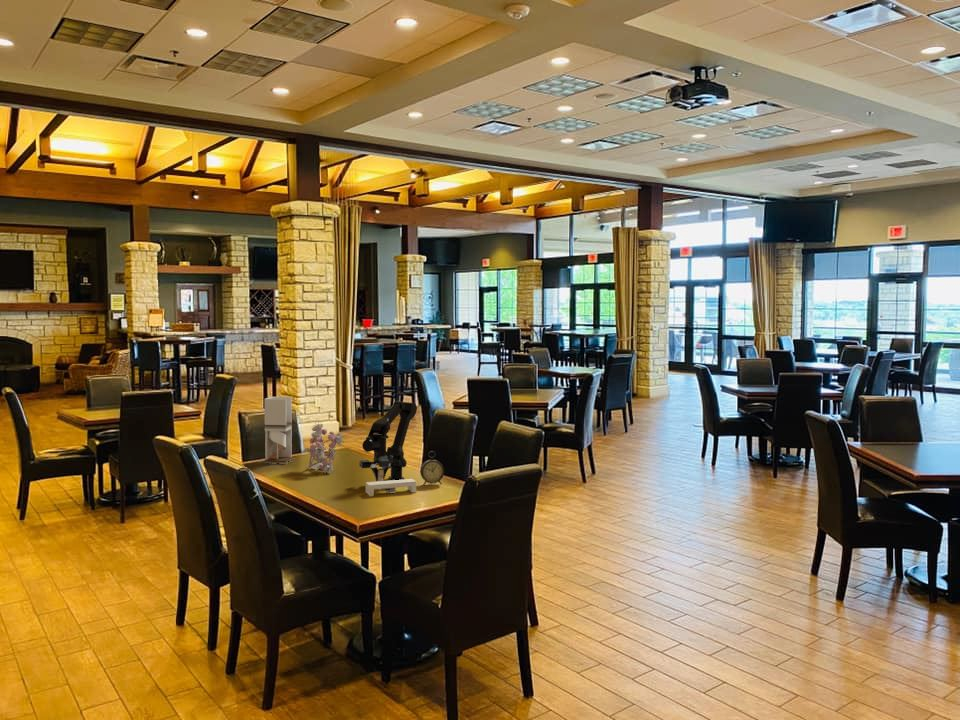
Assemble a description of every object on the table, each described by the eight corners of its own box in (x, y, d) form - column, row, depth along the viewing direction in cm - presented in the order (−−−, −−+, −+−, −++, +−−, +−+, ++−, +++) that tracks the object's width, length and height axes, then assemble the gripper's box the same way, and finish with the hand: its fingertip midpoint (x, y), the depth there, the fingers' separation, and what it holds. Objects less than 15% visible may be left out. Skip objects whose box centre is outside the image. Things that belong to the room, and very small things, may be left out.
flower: (287, 472, 371) (308, 428, 367) (296, 458, 393) (317, 417, 389) (324, 489, 373) (345, 446, 369) (331, 475, 395) (351, 434, 391)
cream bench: (365, 493, 337) (365, 482, 337) (411, 489, 346) (412, 478, 345) (369, 496, 331) (369, 485, 331) (416, 492, 340) (416, 481, 340)
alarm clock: (421, 486, 352) (421, 452, 351) (419, 483, 357) (419, 450, 356) (444, 485, 355) (444, 451, 354) (441, 482, 360) (442, 449, 359)
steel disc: (384, 492, 340) (384, 490, 340) (394, 491, 342) (394, 489, 341) (387, 495, 336) (387, 492, 336) (397, 494, 337) (397, 491, 337)
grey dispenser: (264, 464, 397) (264, 398, 395) (270, 460, 408) (270, 396, 405) (285, 464, 397) (285, 399, 394) (291, 460, 407) (291, 397, 405)
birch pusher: (370, 483, 356) (370, 469, 355) (386, 482, 359) (386, 468, 358) (378, 490, 342) (378, 475, 342) (395, 489, 346) (395, 474, 345)
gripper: (365, 452, 343) (365, 486, 344) (404, 450, 351) (403, 483, 352) (359, 448, 353) (358, 481, 354) (396, 446, 361) (396, 478, 362)
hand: (379, 480), depth 355 cm, fingers closed on birch pusher, 2 cm apart
